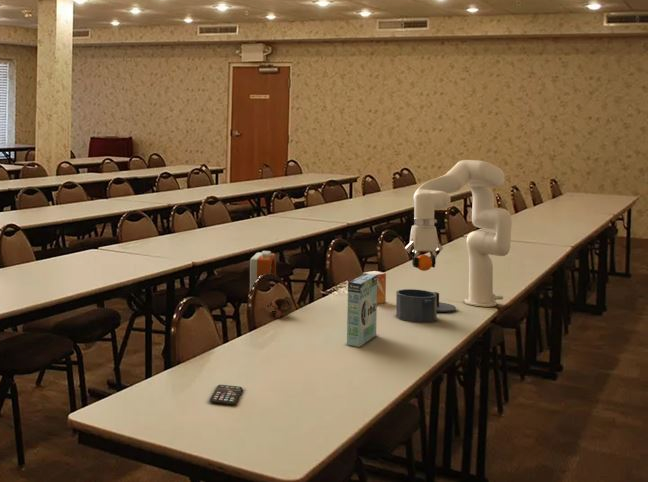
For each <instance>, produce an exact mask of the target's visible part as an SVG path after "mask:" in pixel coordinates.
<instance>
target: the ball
mask: <svg viewBox="0 0 648 482" xmlns="http://www.w3.org/2000/svg"><path fill="white" fill-rule="evenodd" d="M417 258H418V268H417V269H418V270H419V271H423V272H426V271H429V270H431V268H432V267H431V266H432V260H431V258H430V255H429V256H428V255H427V254H420V255H418V256H417Z"/></svg>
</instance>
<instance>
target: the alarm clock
mask: <svg viewBox="0 0 648 482" xmlns="http://www.w3.org/2000/svg"><path fill="white" fill-rule="evenodd" d="M267 273H268V274H274V275H275V276H276V277H277V255H276V253H274V252H272V251H270V250H262V251H261V252H259V251H258V252H256V253H255V254H253V256H252V257H251V258H250V260H249V292H250V291H251V289H252V287H253V285H254V283H255V281H256V280H257V279H258V277H259V276H260V275H262V274H267Z"/></svg>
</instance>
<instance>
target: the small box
mask: <svg viewBox="0 0 648 482" xmlns="http://www.w3.org/2000/svg"><path fill="white" fill-rule="evenodd" d="M365 273H367V274H375V275H377V305H378V304H384V303H385V304H386V302H387V301H386V297H387V296H386V295H387V294H386V293H387V291H386V289H387V286H386V285H387V273H386V272H383V271H377V270H373V271H366V272H363V273H362V275H363V274H365Z"/></svg>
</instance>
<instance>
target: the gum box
mask: <svg viewBox="0 0 648 482" xmlns="http://www.w3.org/2000/svg"><path fill="white" fill-rule="evenodd" d="M364 273H365V272H364ZM377 305H378V304H377V275H375V274H367V273H365V274H363V273H362V274H361V275H360V276H358V277H355V278H354V279H352V280H349V281H348V282H347V316H346V317H347V318H346V320H347V321H346V322H347V323H346V346H350V347H357V348H360V347H362V346H363V345H365V344H366V343H367V342H368V341H370V340H371V339H373V338H374V337H376V336H377V317H378V316H377V313H378V311H377V309H378V308H377V307H378V306H377Z"/></svg>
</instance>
